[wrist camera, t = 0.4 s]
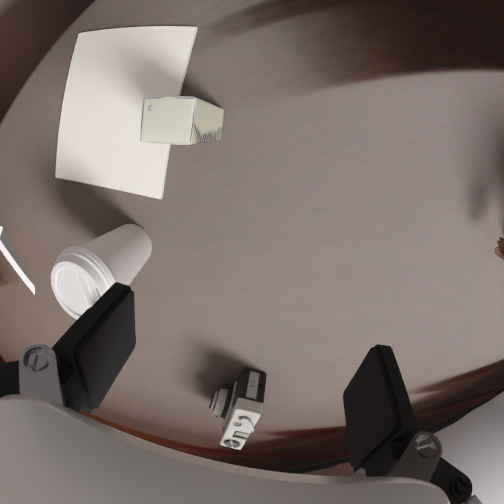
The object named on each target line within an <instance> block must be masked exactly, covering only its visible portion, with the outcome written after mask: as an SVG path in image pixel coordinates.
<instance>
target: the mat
mask: <svg viewBox="0 0 504 504" xmlns="http://www.w3.org/2000/svg"><path fill="white" fill-rule="evenodd" d="M197 29H198V28H197V27H187V26H146V27H128V28H116V29H106V30H98V31H90V32H84V33H79V35H78V38H77V42H76V45H75V49H74V53H73V56H72V60H71V65H70V69H69V73H68V78H67V83H66V88H65V93H64V99H63V105H62V112H61V119H60V126H59V135H58V145H57V157H56V175H55V177H56V178H61V179H67V180H72V181H77V182H82V183H87V184H92V185H96V186H101V187H106V188H111V189H116V190H120V191H125V192H130V193H134V194H139V195H143V196H148V197H152V198H157V199H162V197H163V189H164V182H165V176H166V169H167V163H168V157H169V151H170V145H171V144H157V143H144V142H141V141H140V132H141V116H142V106H143V99H144V97H149V96H180V95H181V91H182V86H183V82H184V78H185V74H186V70H187V66H188V62H189V58H190V54H191V51H192V47H193V43H194V40H195V36H196V33H197Z"/></svg>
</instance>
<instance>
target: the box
mask: <svg viewBox="0 0 504 504" xmlns="http://www.w3.org/2000/svg"><path fill="white" fill-rule="evenodd" d="M223 114H224V110H223V109H222V108H220V107H218V106H215V105H213V104H211V103H208V102H206V101H204V100H202V99H199V98H196V97H191V96H149V97H144V99H143V106H142V116H141V132H140V141H141V142H144V143H157V144H182V145H190V144H195V143H205V142H214V141H220V139H221V132H222V124H223Z"/></svg>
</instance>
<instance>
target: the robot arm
mask: <svg viewBox="0 0 504 504" xmlns="http://www.w3.org/2000/svg"><path fill="white" fill-rule="evenodd" d="M135 344H136V336H135V311H134V291H132V290H131V288H130V286H128V285H125V284H122V283H119V282H115V283H114V284H113V285H112V286H111V287H110V288H109V289H108V290H107V291H106V292H105V293H104V294H103V295H102V296H101V297H100V298H99V299H98V300H97V301H96V302H95V304H94V305H93V306H92V307H91V308H88V309H87V310H86V311H85V312H84V313H83V314H82V315H81V316H80V317H79V318H78V320H77V321H76V322H75V323H74V324H73V325H72V326H71V327H70V328H69V329H68V330H67V331H66V333H65V334H64V335H63V336H62V337H61V338H60V339H59V340H58V342H57V343H56V344H55V345H54V346H53V347H52V348H50V347H49V346H47V345H43V344H34V345H31V346H29V347H27V348H26V349H24V350H23V351H22V353H21V355H20V358H19V361H13V362H6V363H0V504H482V503H481V502H480V500H479V499H478V498H477V496H476V495H473V496H472V495H471V493H472V483H471V481H470V479H469V478H468V477H467V476H466V475H465V474H464V473H462V472H461V471H459V470H458V469H456V468H455V467H454V466H452V465H451V464H450V463H448V462H447V461H445V460H444V459H443V458H441V454H442V446H441V443H440V441H439V440H438V439H437V437H436V436H434V435H433V434H431V433H429V432H424V431H423V432H419V433H418V431H417V423H416V420H415V417H414V413H413V410H412V407H411V403H410V400H409V397H408V394H407V391H406V388H405V385H404V382H403V379H402V376H401V373H400V370H399V367H398V364H397V361H396V359H395V356H394V353H393V350H392V348H391V347H390V346H385V345H379V344H378V345H376V346H375V347H372V348H371V349H370V350H369V352H368V354H367V355H366V357H365V359H364V360H363V362H362V364H361V365H360V367H359V369H358V370H357V372H356V374H355V375H354V377H353V378H352V380H351V381H350V383H349V385H348V386H347V388H346V389H345V391H344V394H343V402H344V410H345V418H346V427H347V437H348V447H349V458H350V465H351V466H352V467H354V473H366V477H340V476H339V477H338V476H315V475H301V474H291V473H282V472H274V471H266V470H260V469H253V468H248V467H242V466H237V465H232V464H227V463H222V462H218V461H213V460H209V459H205V458H201V457H197V456H193V455H190V454H186V453H183V452H179V451H176V450H173V449H169V448H166V447H163V446H160V445H157V444H154V443H151V442H148V441H145V440H143V439H140V438H137V437H135V436H132V435H129V434H127V433H124V432H122V431H120V430H117V429H115V428H112V427H110V426H107V425H105V424H103V423H100V422H98V421H96V420H94V419H91V418H89V417H87V416H85V415H83V414H81V413H79V411H80V409H81V410H83V411H85V412H88V413H91V412H92V410H93V408H95V409H97V408H98V407H99V406H100V404H101V402H102V400H103V399H104V397H105V395H106V394H107V392H108V390H109V389H110V387H111V385H112V384H113V382H114V380H115V379H116V377H117V376H118V374H119V372H120V371H121V369H122V367H123V366H124V364H125V363H126V361H127V359H128V358H129V356H130V355H131V353H132V351H133V350H134V348H135Z"/></svg>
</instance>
